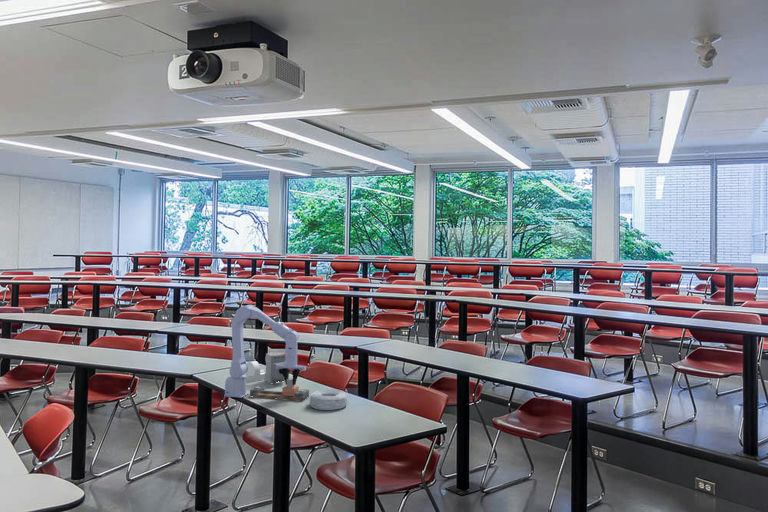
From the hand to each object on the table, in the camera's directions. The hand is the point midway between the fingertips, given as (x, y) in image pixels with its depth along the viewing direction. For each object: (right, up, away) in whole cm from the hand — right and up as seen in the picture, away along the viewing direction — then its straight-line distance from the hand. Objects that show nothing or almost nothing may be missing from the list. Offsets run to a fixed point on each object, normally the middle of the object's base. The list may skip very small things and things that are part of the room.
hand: (290, 384), depth 263 cm
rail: (-6, -6, +1) cm, 8 cm away
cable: (+20, -7, -12) cm, 24 cm away
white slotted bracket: (-27, -6, +37) cm, 46 cm away
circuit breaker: (-12, -6, +30) cm, 33 cm away
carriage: (0, -5, 0) cm, 5 cm away
